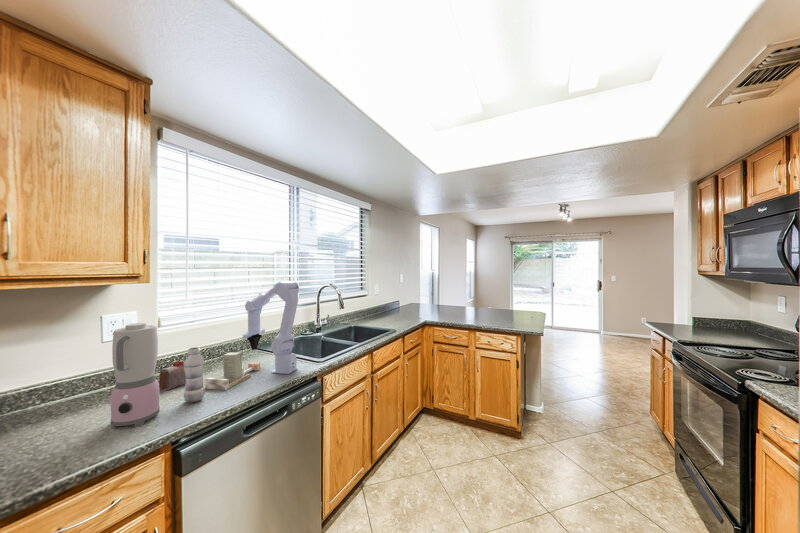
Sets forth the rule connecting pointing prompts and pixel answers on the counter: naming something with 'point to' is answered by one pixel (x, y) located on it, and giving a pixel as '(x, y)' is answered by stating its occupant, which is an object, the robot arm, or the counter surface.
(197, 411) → the counter surface
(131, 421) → the blender
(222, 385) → the channel
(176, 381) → the food item
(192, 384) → the plastic bottle
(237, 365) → the skincare box
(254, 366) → the peach and white mallet
